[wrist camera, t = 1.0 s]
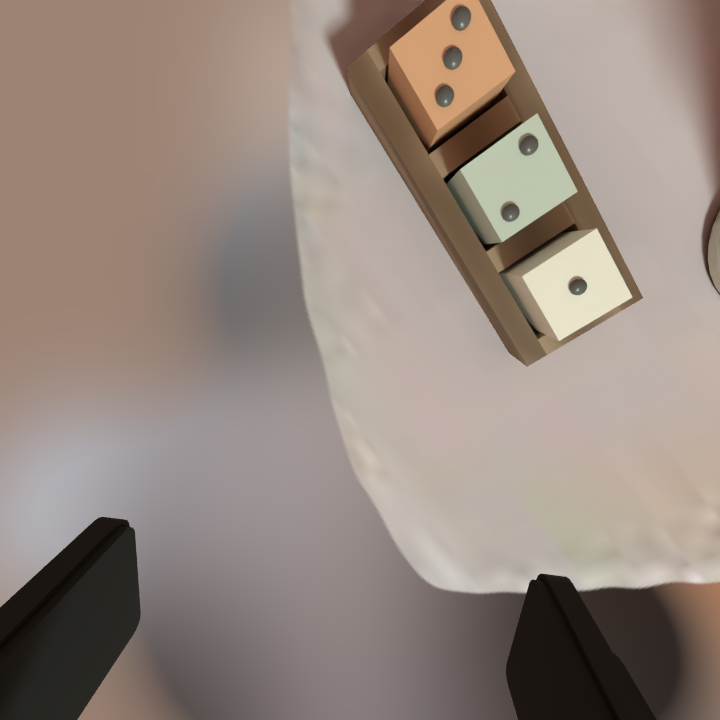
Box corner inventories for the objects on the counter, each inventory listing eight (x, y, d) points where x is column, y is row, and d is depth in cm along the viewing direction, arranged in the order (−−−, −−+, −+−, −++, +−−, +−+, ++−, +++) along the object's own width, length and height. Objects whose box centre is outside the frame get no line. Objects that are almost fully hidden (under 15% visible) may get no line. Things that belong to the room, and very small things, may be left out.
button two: (507, 139, 26) (538, 111, 21) (542, 203, 27) (579, 190, 22) (445, 184, 27) (460, 168, 22) (480, 244, 28) (503, 242, 23)
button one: (558, 233, 27) (598, 228, 22) (589, 290, 28) (634, 297, 23) (497, 273, 28) (523, 276, 23) (529, 327, 29) (560, 341, 24)
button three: (451, 35, 25) (469, -22, 20) (489, 106, 26) (516, 69, 21) (387, 86, 26) (389, 45, 21) (426, 153, 26) (438, 129, 21)
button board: (457, 6, 26) (471, -38, 22) (609, 292, 30) (643, 298, 26) (350, 94, 28) (345, 67, 24) (509, 353, 32) (527, 366, 28)
